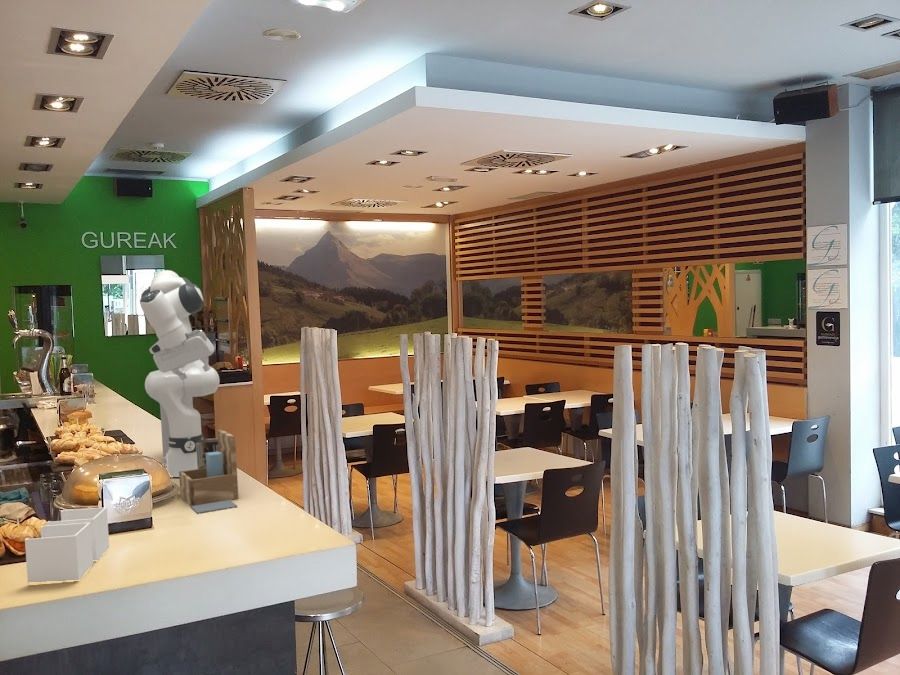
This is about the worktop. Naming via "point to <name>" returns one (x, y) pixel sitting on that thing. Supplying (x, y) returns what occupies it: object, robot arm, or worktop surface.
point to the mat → (213, 506)
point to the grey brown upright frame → (205, 450)
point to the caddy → (212, 488)
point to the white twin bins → (67, 545)
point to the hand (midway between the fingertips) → (196, 374)
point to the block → (214, 464)
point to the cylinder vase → (165, 424)
